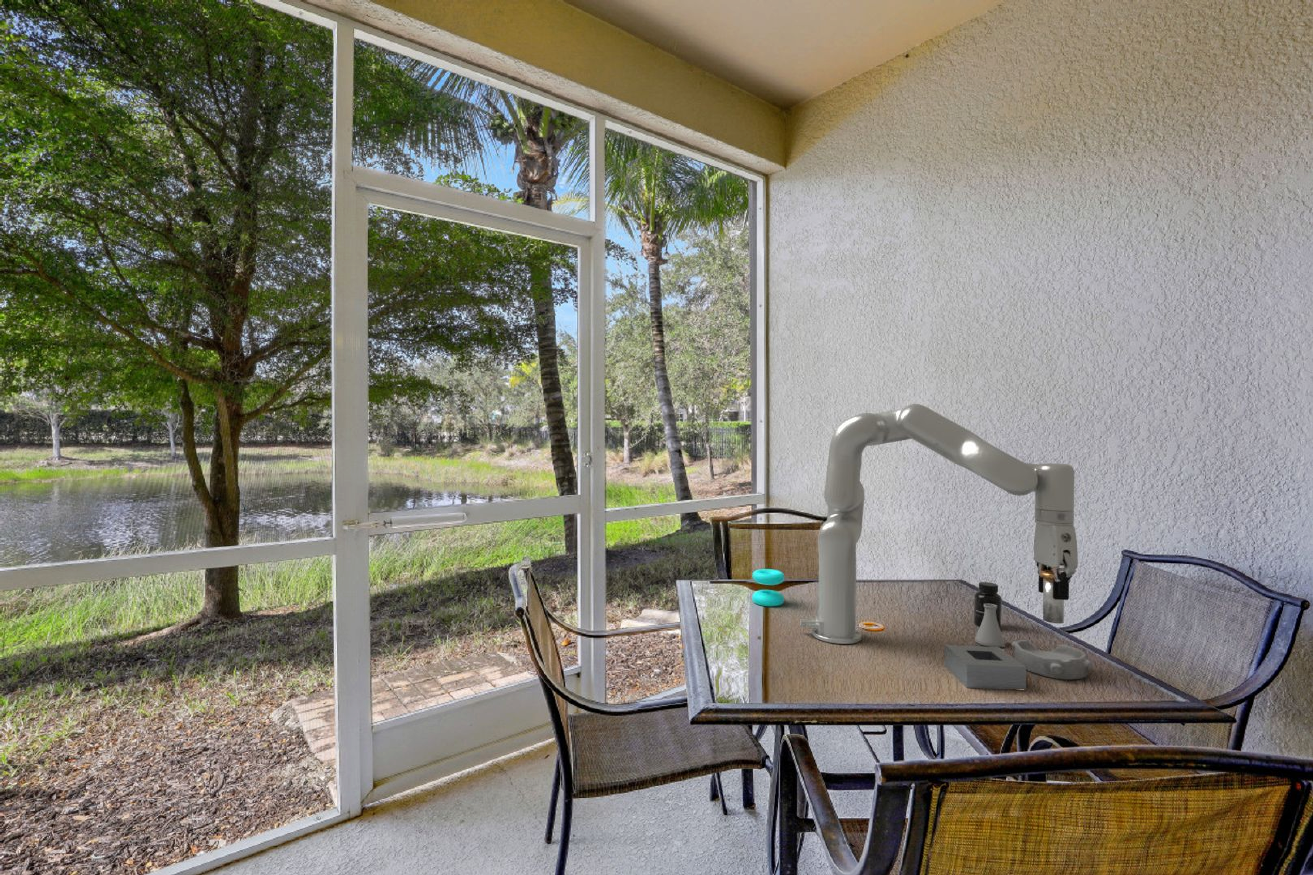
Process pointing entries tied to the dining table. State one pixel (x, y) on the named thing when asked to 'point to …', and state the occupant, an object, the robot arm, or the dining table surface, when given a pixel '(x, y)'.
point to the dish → (1052, 660)
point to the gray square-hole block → (985, 667)
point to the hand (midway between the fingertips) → (1053, 595)
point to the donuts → (768, 595)
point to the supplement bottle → (986, 602)
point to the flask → (990, 629)
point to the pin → (1051, 599)
